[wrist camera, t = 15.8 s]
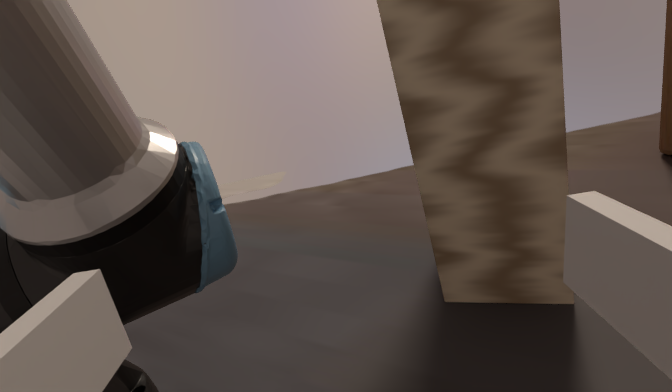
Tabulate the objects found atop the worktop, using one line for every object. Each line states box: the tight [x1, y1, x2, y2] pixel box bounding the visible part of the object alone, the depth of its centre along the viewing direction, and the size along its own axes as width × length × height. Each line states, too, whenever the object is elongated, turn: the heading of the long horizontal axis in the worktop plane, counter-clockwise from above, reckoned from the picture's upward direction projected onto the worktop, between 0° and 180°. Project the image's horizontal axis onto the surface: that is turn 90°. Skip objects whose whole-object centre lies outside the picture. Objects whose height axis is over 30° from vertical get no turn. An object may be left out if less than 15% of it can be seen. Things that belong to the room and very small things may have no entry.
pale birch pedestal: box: [377, 0, 574, 304], centre depth 35 cm, size 11×14×30 cm
